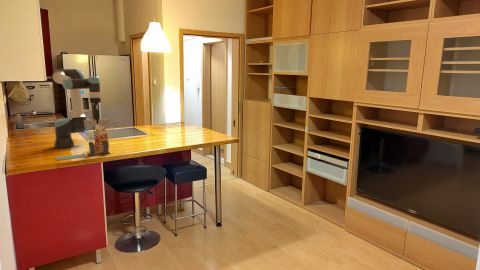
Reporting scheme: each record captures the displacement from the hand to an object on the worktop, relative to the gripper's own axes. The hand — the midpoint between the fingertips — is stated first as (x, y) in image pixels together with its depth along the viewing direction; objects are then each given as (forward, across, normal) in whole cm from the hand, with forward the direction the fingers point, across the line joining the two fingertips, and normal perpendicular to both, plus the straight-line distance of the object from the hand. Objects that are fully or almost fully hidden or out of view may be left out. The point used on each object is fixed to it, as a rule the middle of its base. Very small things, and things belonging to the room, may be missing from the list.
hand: (97, 127), depth 257 cm
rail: (-1, 0, 0) cm, 1 cm away
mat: (+21, 0, -20) cm, 29 cm away
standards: (+21, 0, 0) cm, 21 cm away
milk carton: (+21, -16, +5) cm, 27 cm away
